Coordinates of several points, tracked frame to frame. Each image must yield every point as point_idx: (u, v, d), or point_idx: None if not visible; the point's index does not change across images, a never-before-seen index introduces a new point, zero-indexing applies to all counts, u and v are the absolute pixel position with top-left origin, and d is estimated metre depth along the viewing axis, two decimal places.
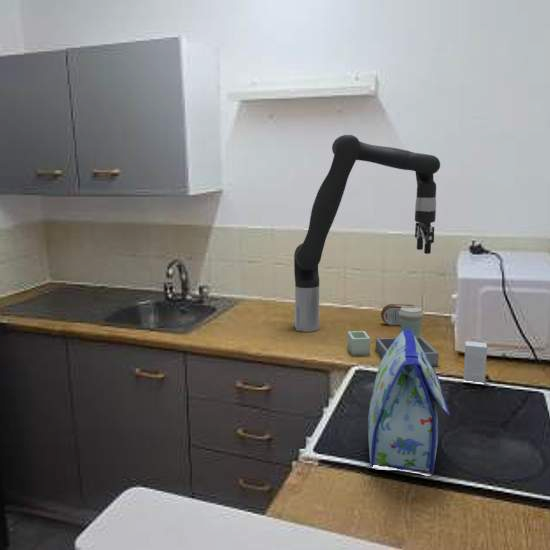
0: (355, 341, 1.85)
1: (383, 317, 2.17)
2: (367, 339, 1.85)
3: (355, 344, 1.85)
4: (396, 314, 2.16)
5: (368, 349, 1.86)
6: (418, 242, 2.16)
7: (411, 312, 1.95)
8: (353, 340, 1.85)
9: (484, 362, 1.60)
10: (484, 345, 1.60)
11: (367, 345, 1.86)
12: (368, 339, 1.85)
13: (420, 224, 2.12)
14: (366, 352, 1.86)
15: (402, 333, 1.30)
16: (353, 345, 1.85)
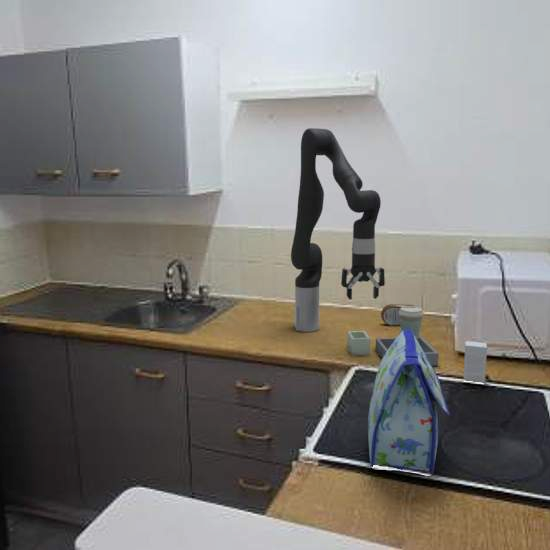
0: (355, 341, 1.85)
1: (383, 317, 2.17)
2: (367, 339, 1.85)
3: (355, 344, 1.85)
4: (396, 314, 2.16)
5: (368, 349, 1.86)
6: (351, 291, 1.86)
7: (411, 312, 1.95)
8: (353, 340, 1.85)
9: (484, 362, 1.60)
10: (484, 345, 1.60)
11: (367, 345, 1.86)
12: (368, 339, 1.85)
13: (359, 269, 1.84)
14: (366, 352, 1.86)
15: (402, 333, 1.30)
16: (353, 345, 1.85)
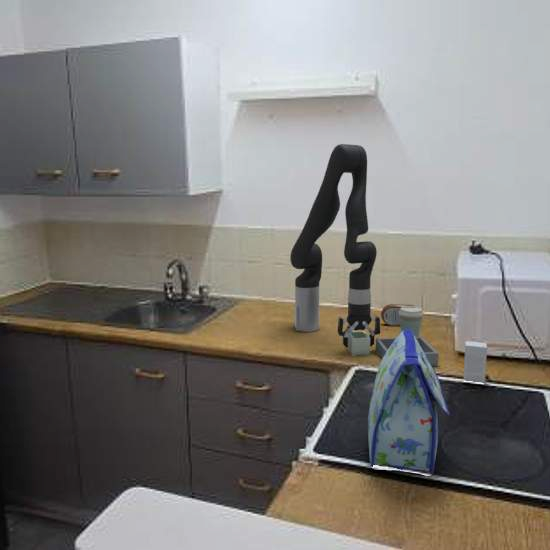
0: (355, 341, 1.85)
1: (383, 317, 2.17)
2: (367, 339, 1.85)
3: (355, 344, 1.85)
4: (396, 314, 2.16)
5: (368, 349, 1.86)
6: (347, 339, 1.88)
7: (411, 312, 1.95)
8: (353, 340, 1.85)
9: (484, 362, 1.60)
10: (484, 345, 1.60)
11: (367, 345, 1.86)
12: (368, 339, 1.85)
13: (355, 318, 1.86)
14: (366, 352, 1.86)
15: (402, 333, 1.30)
16: (353, 345, 1.85)
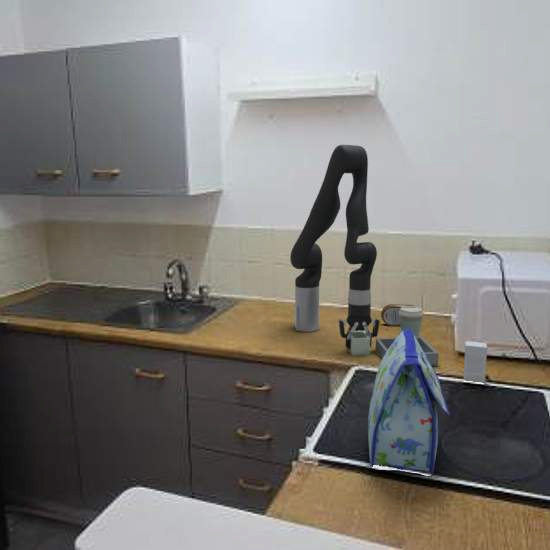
0: (355, 341, 1.85)
1: (383, 317, 2.17)
2: (367, 339, 1.85)
3: (355, 344, 1.85)
4: (396, 314, 2.16)
5: (368, 349, 1.86)
6: None
7: (411, 312, 1.95)
8: (353, 340, 1.85)
9: (484, 362, 1.60)
10: (484, 345, 1.60)
11: (367, 345, 1.86)
12: (368, 339, 1.85)
13: (355, 319, 1.87)
14: (366, 352, 1.86)
15: (402, 333, 1.30)
16: (353, 345, 1.85)
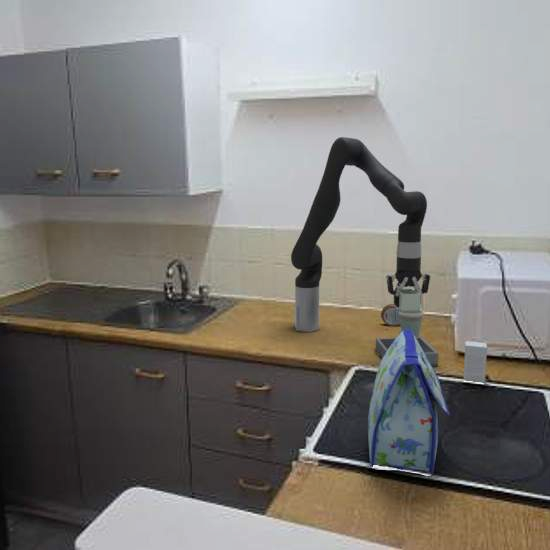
0: (405, 297, 1.75)
1: (383, 317, 2.17)
2: (417, 295, 1.75)
3: (405, 301, 1.75)
4: (396, 314, 2.16)
5: (418, 306, 1.76)
6: None
7: None
8: (403, 296, 1.75)
9: (484, 362, 1.60)
10: (484, 345, 1.60)
11: (417, 301, 1.75)
12: (419, 295, 1.75)
13: (404, 274, 1.76)
14: (416, 309, 1.76)
15: (402, 333, 1.30)
16: (403, 301, 1.75)
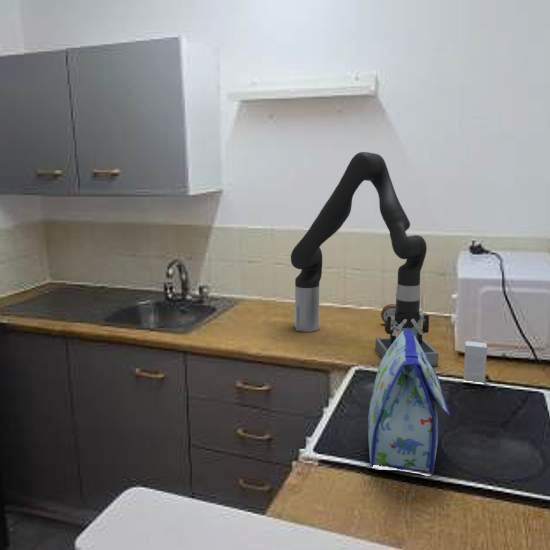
0: None
1: (383, 317, 2.17)
2: None
3: None
4: None
5: None
6: (395, 338, 1.81)
7: None
8: None
9: (484, 362, 1.60)
10: (484, 345, 1.60)
11: None
12: None
13: (403, 316, 1.79)
14: None
15: (402, 333, 1.30)
16: None
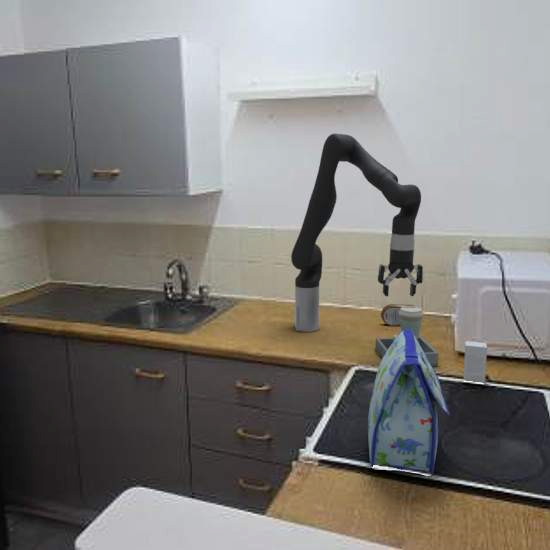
0: None
1: (383, 317, 2.17)
2: None
3: None
4: (396, 314, 2.16)
5: None
6: None
7: (411, 312, 1.95)
8: None
9: (484, 362, 1.60)
10: (484, 345, 1.60)
11: None
12: None
13: (397, 266, 1.79)
14: None
15: (402, 333, 1.30)
16: None
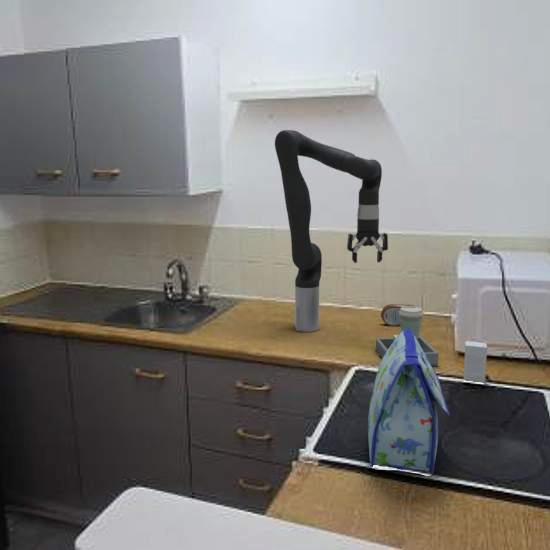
0: None
1: (383, 317, 2.17)
2: None
3: None
4: (396, 314, 2.16)
5: None
6: (356, 255, 1.98)
7: (411, 312, 1.95)
8: None
9: (484, 362, 1.60)
10: (484, 345, 1.60)
11: None
12: None
13: (364, 234, 1.96)
14: None
15: (402, 333, 1.30)
16: None
